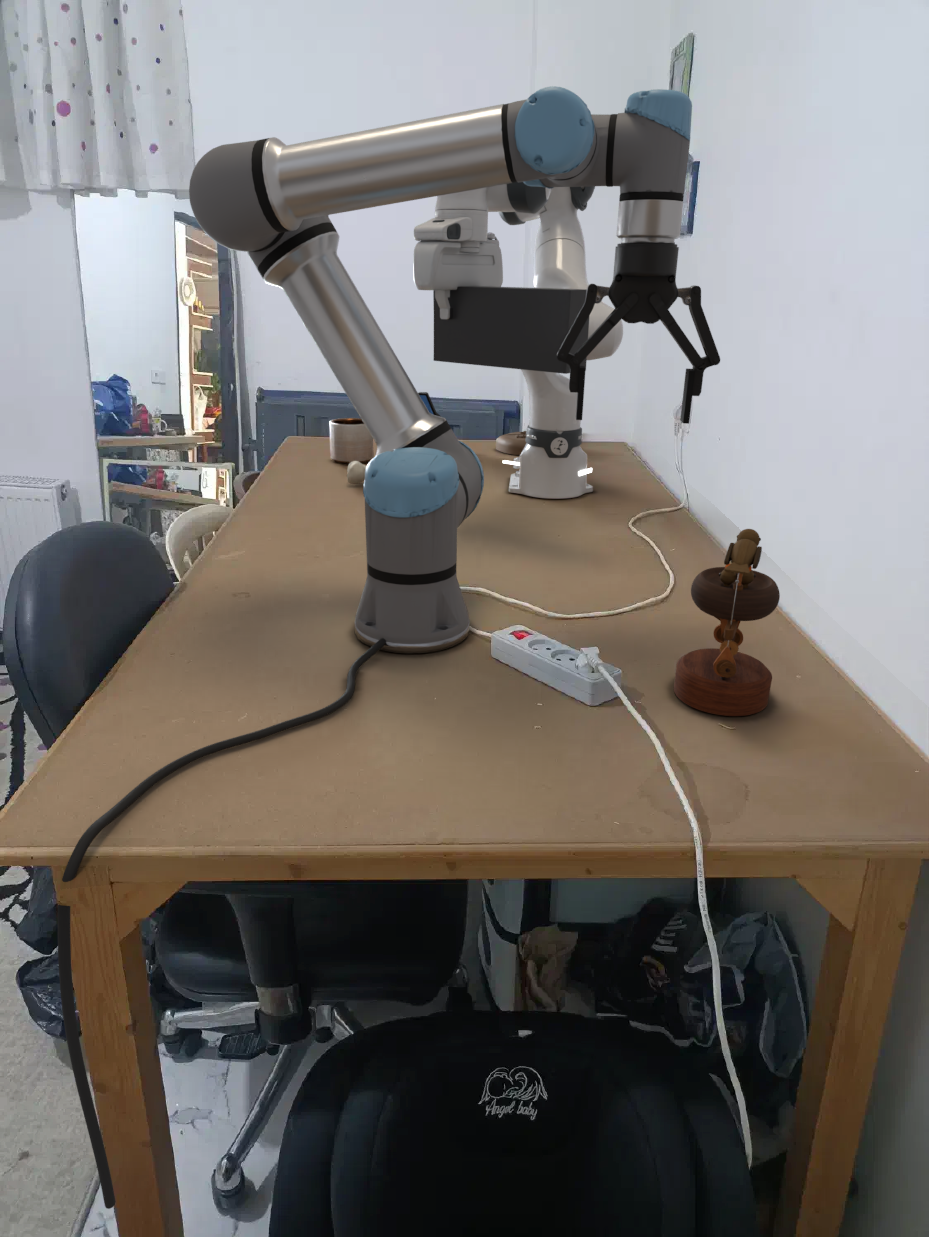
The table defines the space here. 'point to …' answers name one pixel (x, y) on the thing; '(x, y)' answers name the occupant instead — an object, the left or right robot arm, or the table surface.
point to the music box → (729, 635)
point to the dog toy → (356, 472)
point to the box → (508, 327)
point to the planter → (350, 441)
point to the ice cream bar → (511, 443)
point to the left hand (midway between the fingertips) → (631, 420)
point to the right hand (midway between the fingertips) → (460, 318)
